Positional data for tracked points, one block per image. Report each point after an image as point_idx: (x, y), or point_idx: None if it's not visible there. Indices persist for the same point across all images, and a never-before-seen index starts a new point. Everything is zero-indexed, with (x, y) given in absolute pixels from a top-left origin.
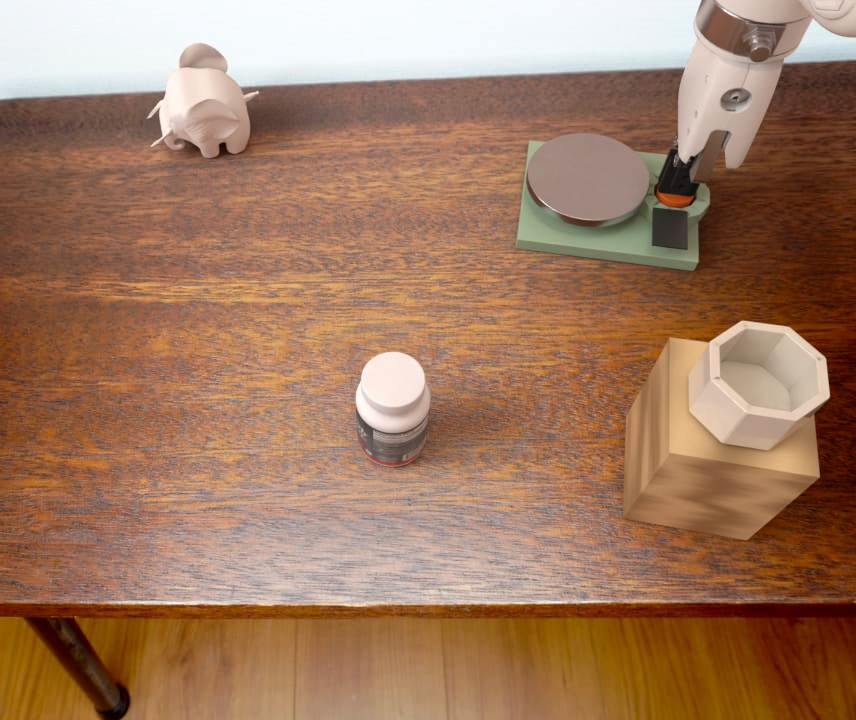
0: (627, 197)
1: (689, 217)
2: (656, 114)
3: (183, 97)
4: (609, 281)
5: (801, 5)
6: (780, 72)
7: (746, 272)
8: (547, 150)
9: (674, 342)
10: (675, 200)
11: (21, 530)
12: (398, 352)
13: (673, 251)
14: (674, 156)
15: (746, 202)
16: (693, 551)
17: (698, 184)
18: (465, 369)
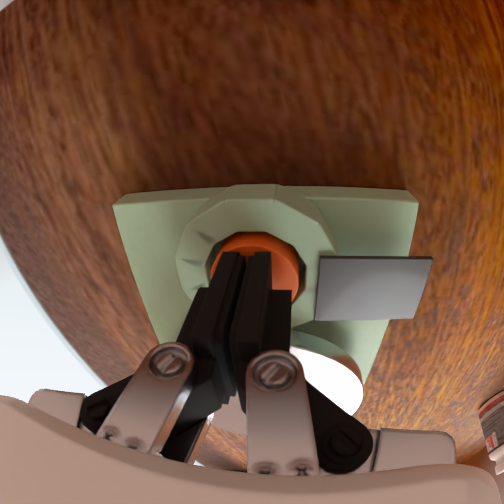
0: (308, 370)
1: (333, 247)
2: (56, 251)
3: None
4: (416, 312)
5: None
6: None
7: (398, 84)
8: (225, 426)
9: None
10: (292, 287)
11: (468, 452)
12: (500, 471)
13: (393, 249)
14: (234, 393)
15: (184, 78)
16: None
17: (266, 279)
18: (472, 389)
